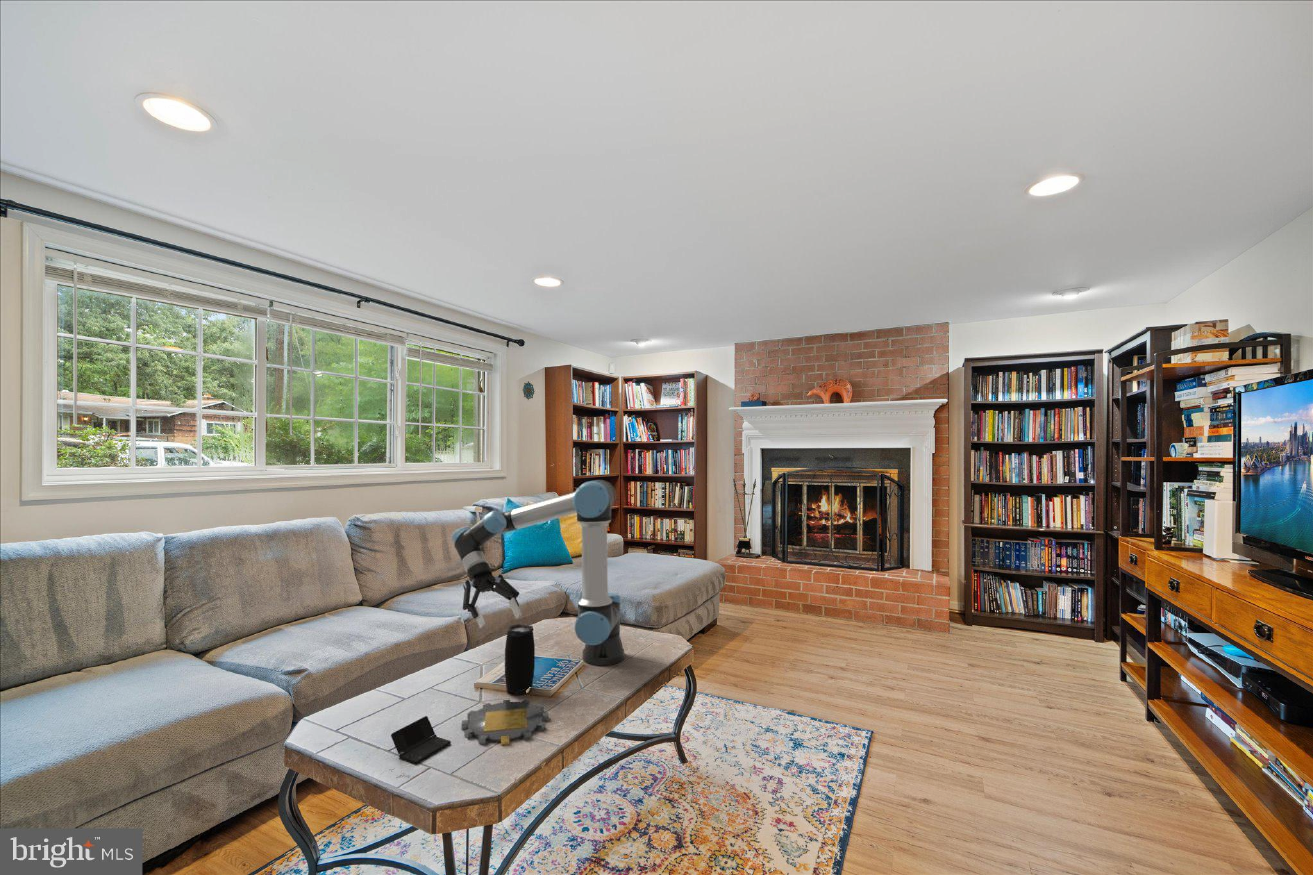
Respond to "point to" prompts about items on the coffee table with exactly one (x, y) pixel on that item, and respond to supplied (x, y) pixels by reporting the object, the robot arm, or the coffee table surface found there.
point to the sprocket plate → (505, 722)
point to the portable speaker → (519, 659)
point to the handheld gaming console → (418, 741)
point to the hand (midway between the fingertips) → (501, 621)
